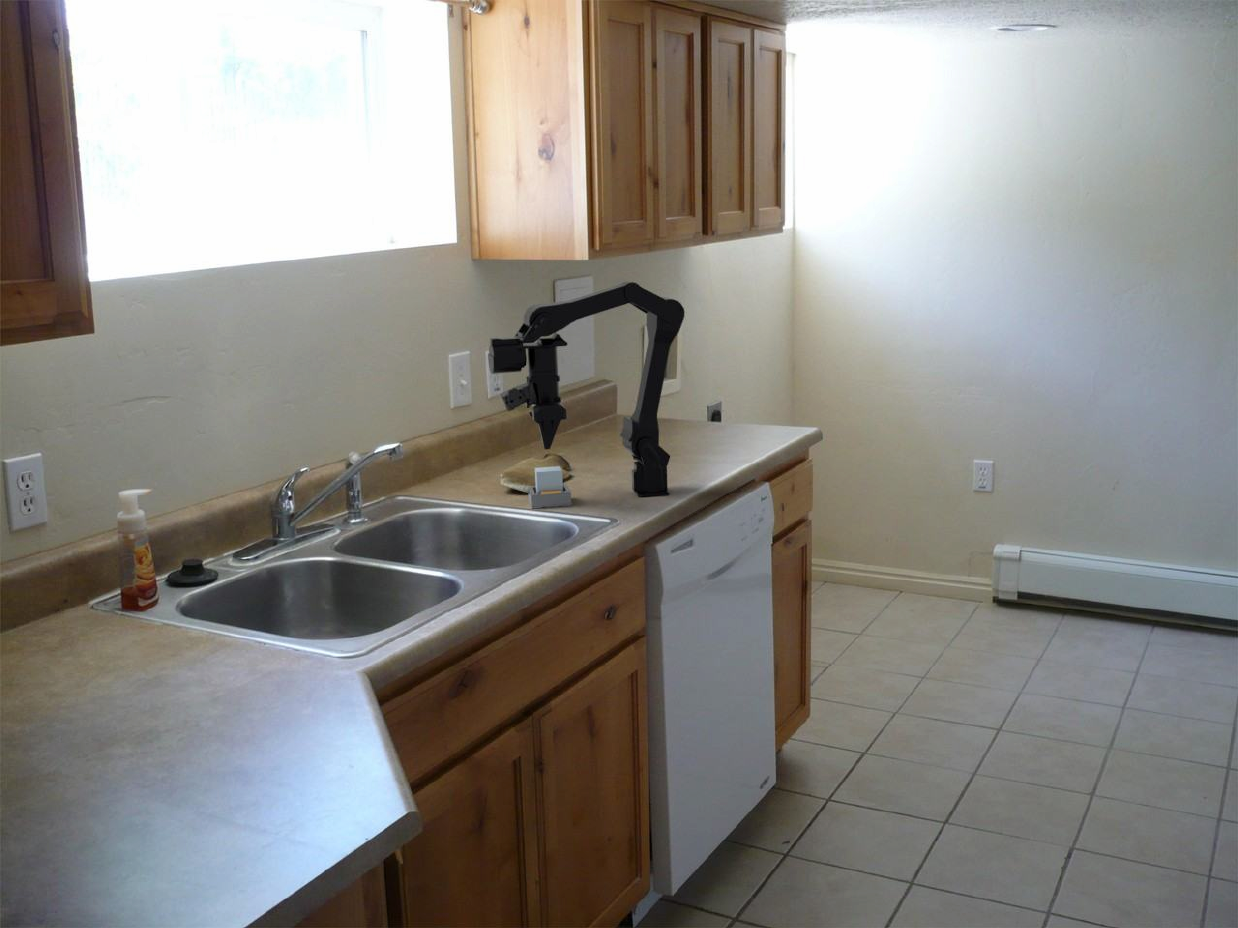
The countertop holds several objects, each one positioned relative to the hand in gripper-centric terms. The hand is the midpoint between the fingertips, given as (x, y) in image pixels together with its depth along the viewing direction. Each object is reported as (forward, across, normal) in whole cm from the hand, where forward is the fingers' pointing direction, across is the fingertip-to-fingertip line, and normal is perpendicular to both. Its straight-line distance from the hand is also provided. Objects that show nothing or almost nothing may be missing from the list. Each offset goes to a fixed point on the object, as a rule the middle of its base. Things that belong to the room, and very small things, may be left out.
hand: (547, 449), depth 239 cm
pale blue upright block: (+10, 0, 0) cm, 10 cm away
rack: (+11, 0, 0) cm, 11 cm away
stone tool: (+12, -20, 0) cm, 23 cm away
